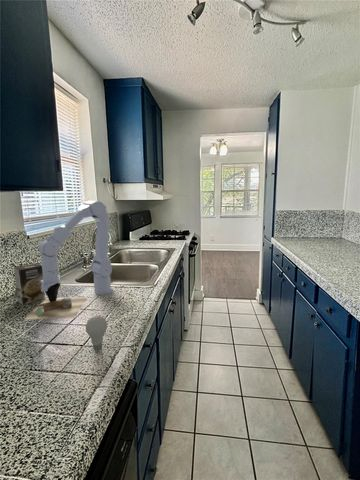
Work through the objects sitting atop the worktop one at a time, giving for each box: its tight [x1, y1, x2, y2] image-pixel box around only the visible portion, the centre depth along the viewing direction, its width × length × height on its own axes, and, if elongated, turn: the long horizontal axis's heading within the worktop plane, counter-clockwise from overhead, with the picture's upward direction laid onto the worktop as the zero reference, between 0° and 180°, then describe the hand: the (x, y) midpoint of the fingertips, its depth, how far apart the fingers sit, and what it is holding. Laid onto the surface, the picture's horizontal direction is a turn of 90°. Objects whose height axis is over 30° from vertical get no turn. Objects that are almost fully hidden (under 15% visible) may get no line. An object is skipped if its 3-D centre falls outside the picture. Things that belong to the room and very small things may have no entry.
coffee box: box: [13, 263, 46, 306], centre depth 110 cm, size 9×6×16 cm
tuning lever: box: [38, 298, 72, 311], centre depth 101 cm, size 12×4×3 cm, turn 124°
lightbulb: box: [85, 315, 108, 352], centre depth 76 cm, size 6×6×11 cm
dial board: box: [24, 296, 89, 321], centre depth 104 cm, size 20×18×1 cm
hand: (53, 301), depth 104 cm, fingers closed
